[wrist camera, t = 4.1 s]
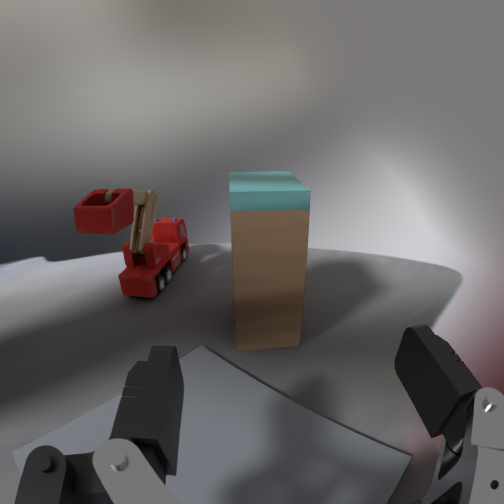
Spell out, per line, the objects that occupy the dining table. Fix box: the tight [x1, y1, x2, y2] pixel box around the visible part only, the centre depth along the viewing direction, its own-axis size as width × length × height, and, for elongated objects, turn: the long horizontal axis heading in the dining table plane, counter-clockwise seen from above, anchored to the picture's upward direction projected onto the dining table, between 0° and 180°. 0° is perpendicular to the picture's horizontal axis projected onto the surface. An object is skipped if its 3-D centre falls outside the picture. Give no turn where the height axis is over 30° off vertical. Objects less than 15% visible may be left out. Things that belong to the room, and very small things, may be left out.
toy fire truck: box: [74, 189, 189, 298], centre depth 25 cm, size 3×14×10 cm, turn 172°
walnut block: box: [229, 172, 310, 351], centre depth 20 cm, size 6×4×10 cm, turn 4°
